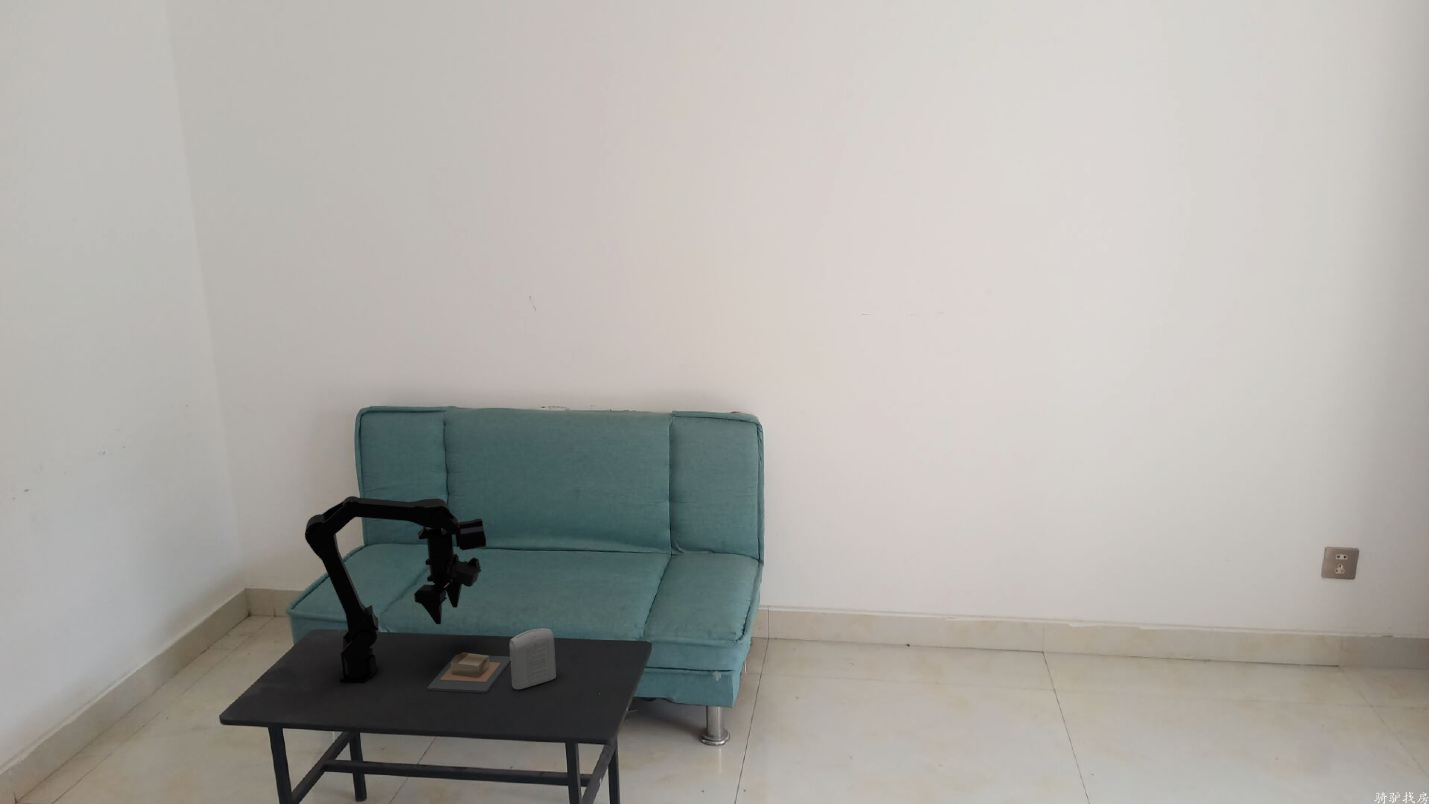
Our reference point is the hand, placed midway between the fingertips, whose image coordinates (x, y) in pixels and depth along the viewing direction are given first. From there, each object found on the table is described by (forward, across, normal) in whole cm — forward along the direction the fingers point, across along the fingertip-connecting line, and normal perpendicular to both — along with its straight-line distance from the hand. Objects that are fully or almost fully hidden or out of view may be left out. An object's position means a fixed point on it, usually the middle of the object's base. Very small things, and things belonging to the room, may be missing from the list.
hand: (447, 615), depth 222 cm
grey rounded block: (+11, -9, -24) cm, 28 cm away
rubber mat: (+11, -7, -8) cm, 15 cm away
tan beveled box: (+10, -7, -8) cm, 15 cm away
